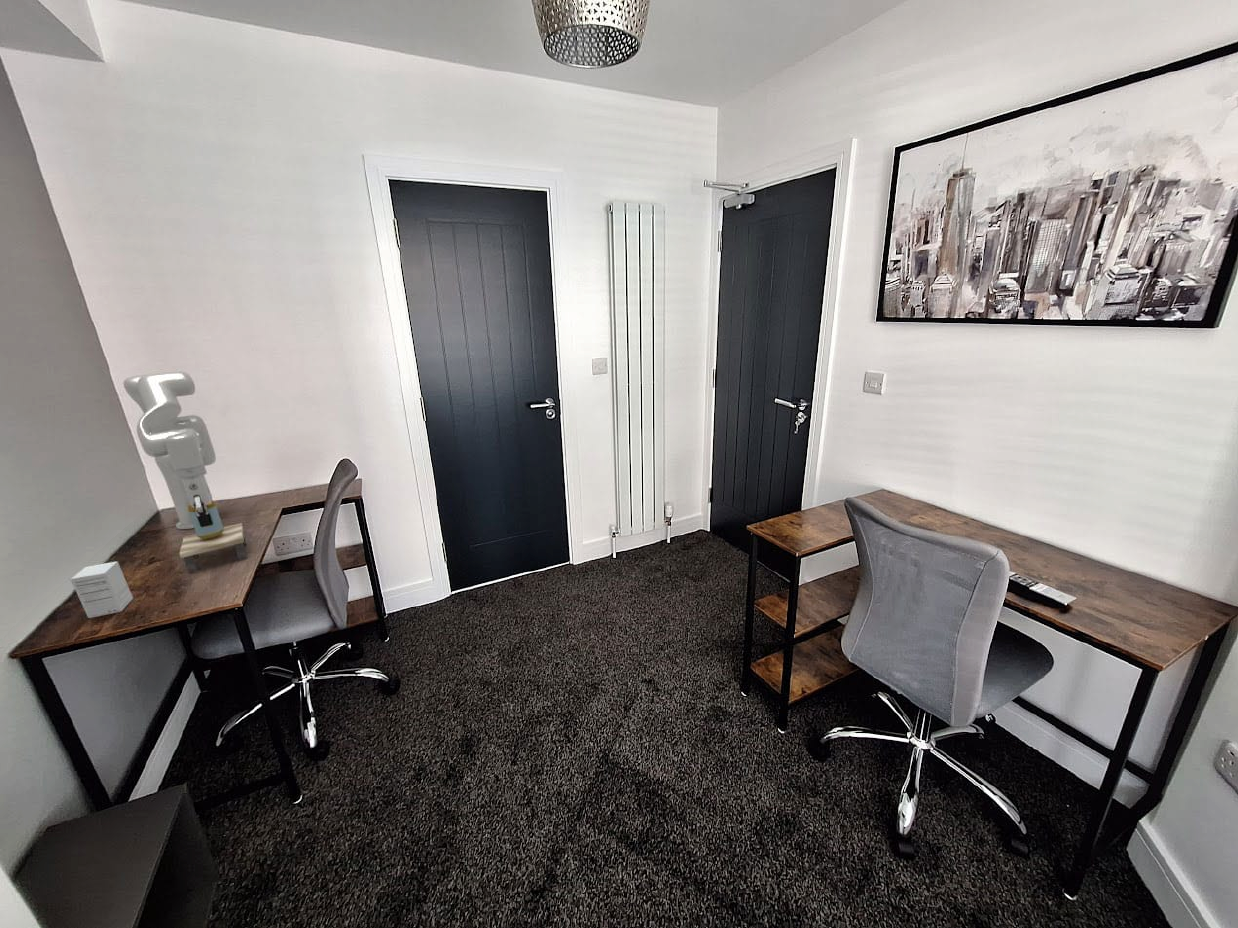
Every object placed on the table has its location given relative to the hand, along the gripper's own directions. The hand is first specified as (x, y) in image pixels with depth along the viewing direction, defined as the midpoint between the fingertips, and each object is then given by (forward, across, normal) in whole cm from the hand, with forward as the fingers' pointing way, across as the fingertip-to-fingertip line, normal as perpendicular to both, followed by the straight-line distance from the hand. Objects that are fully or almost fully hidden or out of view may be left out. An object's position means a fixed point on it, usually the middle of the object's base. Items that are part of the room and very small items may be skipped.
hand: (207, 521), depth 161 cm
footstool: (+13, 0, 0) cm, 13 cm away
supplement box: (+13, -18, +24) cm, 33 cm away
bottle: (+5, 0, 0) cm, 5 cm away
